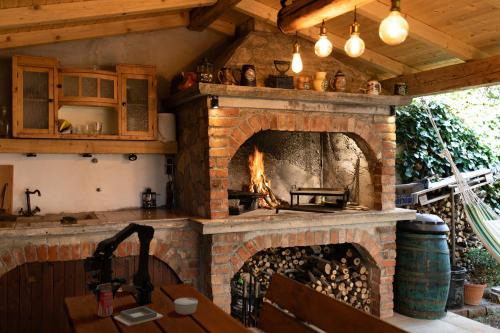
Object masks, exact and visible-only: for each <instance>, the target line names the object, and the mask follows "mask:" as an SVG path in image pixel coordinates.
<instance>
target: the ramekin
mask: <svg viewBox="0 0 500 333" xmlns="http://www.w3.org/2000/svg"><path fill="white" fill-rule="evenodd" d="M198 303H199V301H198V299H196V298H193V297H180V298H177V299H175V300H174V302H173V304H174V307H175V308H174V310H175V313H177V314H178V315H184V316H185V315H192V314H194V313H196V311H197V307H198Z"/></svg>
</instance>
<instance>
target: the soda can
mask: <svg viewBox="0 0 500 333" xmlns="http://www.w3.org/2000/svg"><path fill="white" fill-rule="evenodd" d="M99 289H100V299H99V303H97V302H96V312H97V316H99V317H102V318H107V317H110V316H111V315H112V314H113V313H114V312H113V311H114V310H113V308H114V299H113V292H112V288H110V287H103V288H99Z"/></svg>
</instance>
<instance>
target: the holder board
mask: <svg viewBox="0 0 500 333" xmlns="http://www.w3.org/2000/svg"><path fill="white" fill-rule="evenodd" d="M162 318H164V315H162V314H161V313H158V312H157V311H155V310H153V309H151V308H148V307H147V306H143V305H142V306H138V307H134V308H129V309H126V310H125V309H124V310H121V311H120V315H116V316H114V317H113V319H114V320H115V321H117V322H120V323H121V324H123V325H125V326H126V327H131V326H135V325H138V324H143V323H146V322H147V323H148V322H150V321H155V320H158V319H162Z"/></svg>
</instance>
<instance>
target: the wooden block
mask: <svg viewBox="0 0 500 333" xmlns="http://www.w3.org/2000/svg"><path fill="white" fill-rule="evenodd" d="M137 271H138V268H137V269H136V270H134V271H133V272H132V273H131V258H130V257H125V258H123V277H124V278H126V284H122V286H121V292H125V293H126V292H127V293H133V294H138V291H139V290H136V289H135V286H134V285H133V283H131V280H132V281H133V275H134V274H136V273H137Z"/></svg>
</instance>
